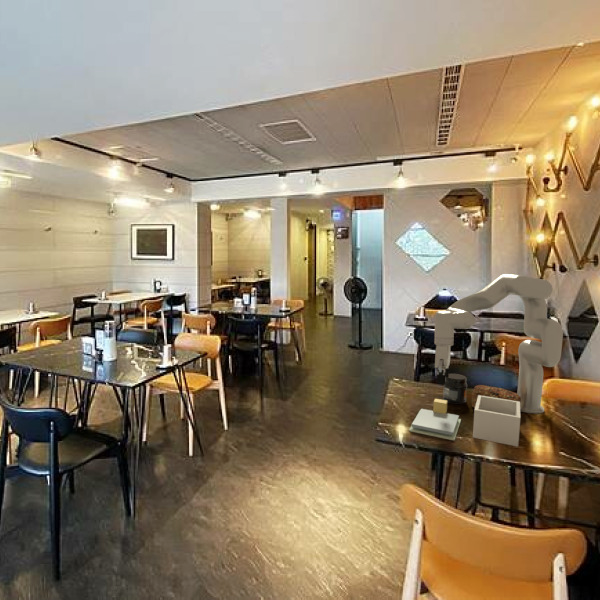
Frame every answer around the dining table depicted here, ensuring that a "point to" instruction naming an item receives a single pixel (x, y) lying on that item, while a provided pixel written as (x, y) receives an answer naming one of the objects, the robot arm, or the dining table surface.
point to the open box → (497, 420)
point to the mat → (450, 437)
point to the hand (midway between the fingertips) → (442, 380)
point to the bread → (493, 393)
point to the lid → (436, 419)
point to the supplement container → (455, 389)
